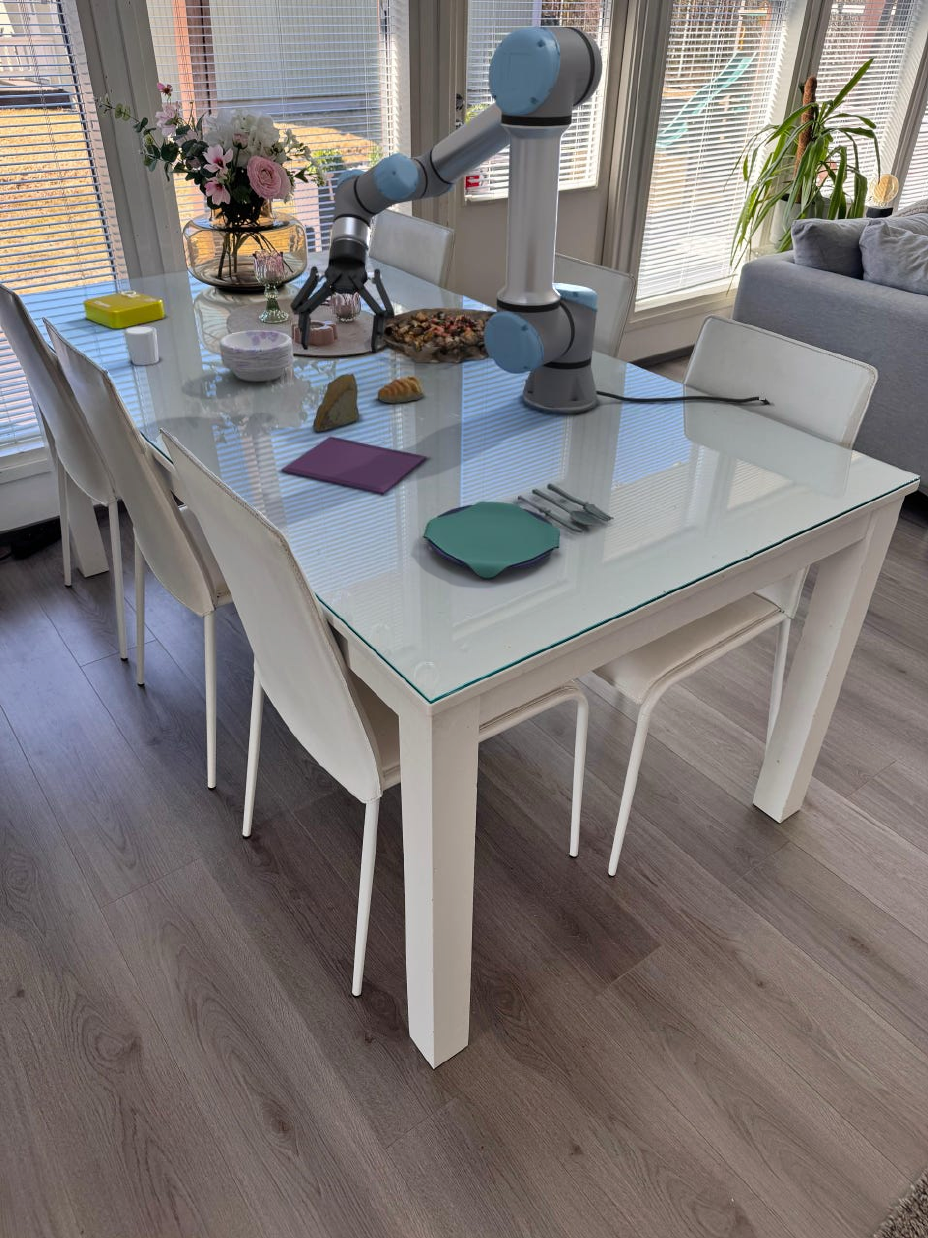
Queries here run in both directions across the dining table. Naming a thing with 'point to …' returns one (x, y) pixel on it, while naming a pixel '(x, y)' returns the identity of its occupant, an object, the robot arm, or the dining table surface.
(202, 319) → the dining table surface
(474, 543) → the cutlery set
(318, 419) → the rock
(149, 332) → the white cylinder
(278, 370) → the paper bowls
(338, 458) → the cloth
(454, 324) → the food dish
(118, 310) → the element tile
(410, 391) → the pastry
